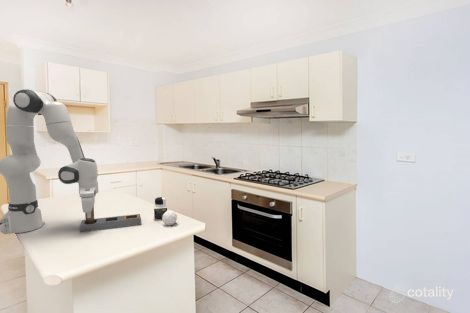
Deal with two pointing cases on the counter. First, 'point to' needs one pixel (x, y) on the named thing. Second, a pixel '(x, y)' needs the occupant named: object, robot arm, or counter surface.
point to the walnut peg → (91, 220)
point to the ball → (169, 217)
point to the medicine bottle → (159, 208)
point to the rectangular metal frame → (111, 222)
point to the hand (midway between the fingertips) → (89, 216)
